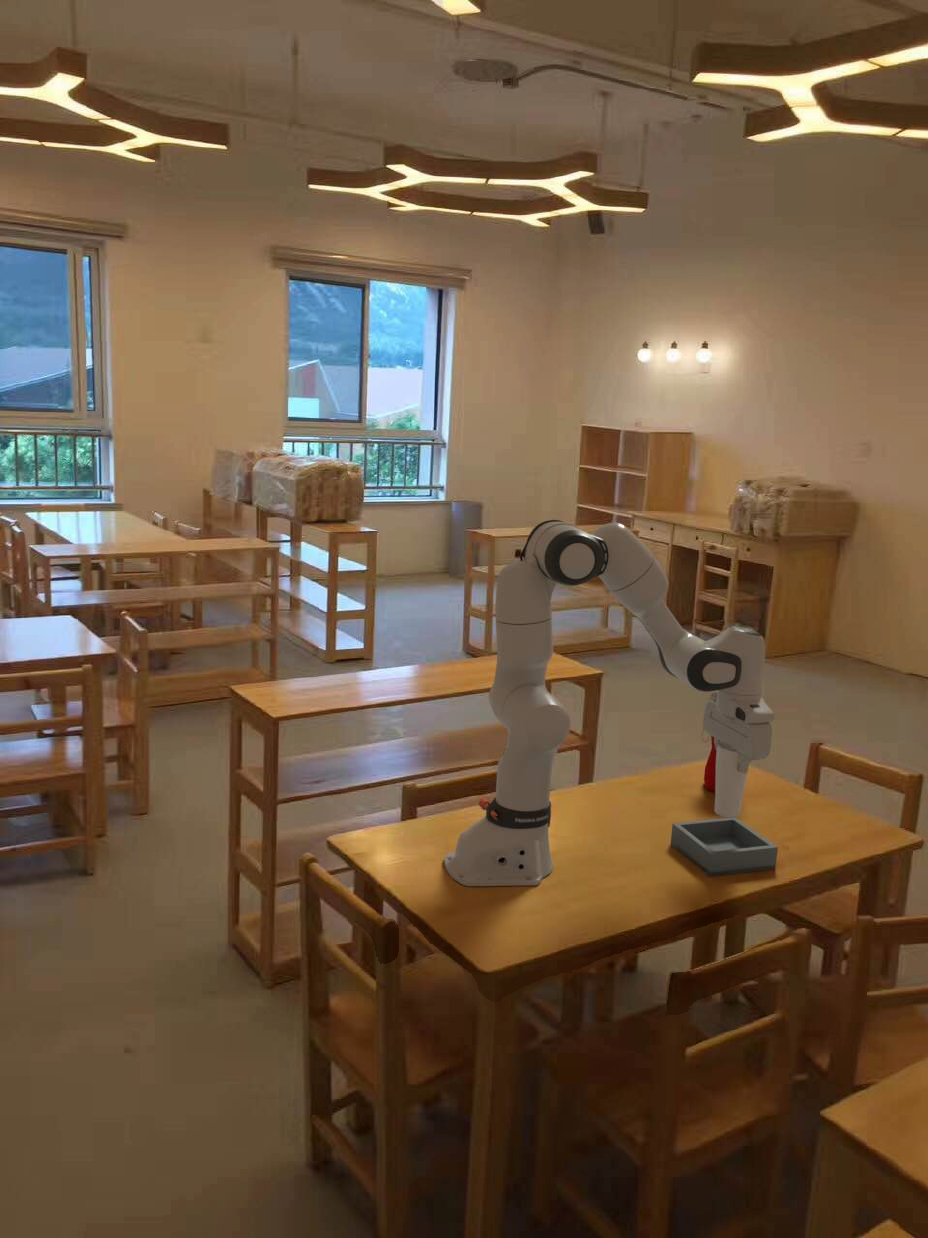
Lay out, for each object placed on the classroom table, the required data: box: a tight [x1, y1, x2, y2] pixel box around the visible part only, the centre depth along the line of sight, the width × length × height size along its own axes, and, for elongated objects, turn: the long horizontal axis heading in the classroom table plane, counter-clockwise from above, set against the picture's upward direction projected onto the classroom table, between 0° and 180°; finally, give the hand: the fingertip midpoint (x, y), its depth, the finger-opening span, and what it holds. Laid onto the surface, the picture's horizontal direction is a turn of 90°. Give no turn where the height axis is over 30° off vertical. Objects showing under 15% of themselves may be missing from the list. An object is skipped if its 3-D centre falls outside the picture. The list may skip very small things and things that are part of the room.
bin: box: [670, 817, 779, 878], centre depth 217 cm, size 16×16×5 cm
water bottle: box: [701, 730, 717, 793], centre depth 256 cm, size 9×11×25 cm
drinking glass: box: [714, 743, 750, 818], centre depth 214 cm, size 7×7×15 cm
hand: (731, 765), depth 214 cm, fingers closed on drinking glass, 6 cm apart
